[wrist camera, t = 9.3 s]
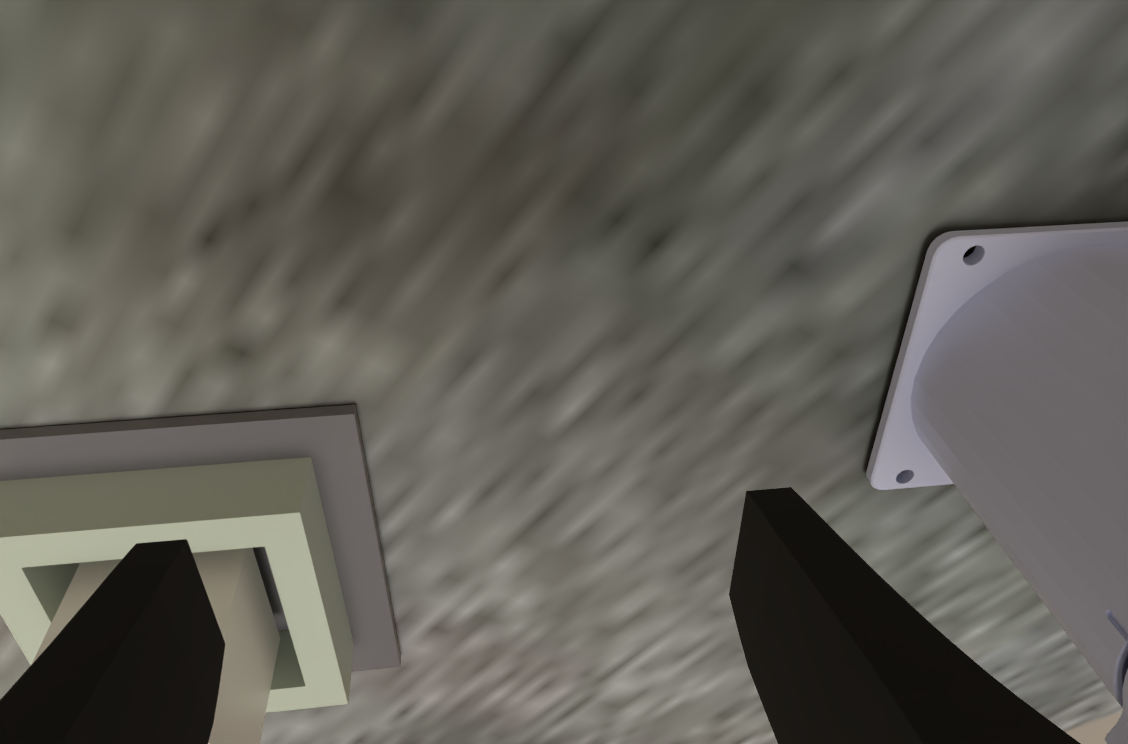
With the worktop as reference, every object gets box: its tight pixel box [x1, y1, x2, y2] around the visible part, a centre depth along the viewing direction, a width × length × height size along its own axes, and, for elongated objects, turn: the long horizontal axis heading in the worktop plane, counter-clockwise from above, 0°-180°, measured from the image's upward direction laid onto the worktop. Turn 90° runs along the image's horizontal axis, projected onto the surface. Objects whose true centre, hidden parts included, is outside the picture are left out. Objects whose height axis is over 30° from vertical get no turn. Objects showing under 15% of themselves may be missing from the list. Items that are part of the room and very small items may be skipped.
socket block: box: [0, 404, 401, 713], centre depth 22 cm, size 10×10×2 cm
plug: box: [31, 548, 280, 744], centre depth 20 cm, size 4×4×6 cm
